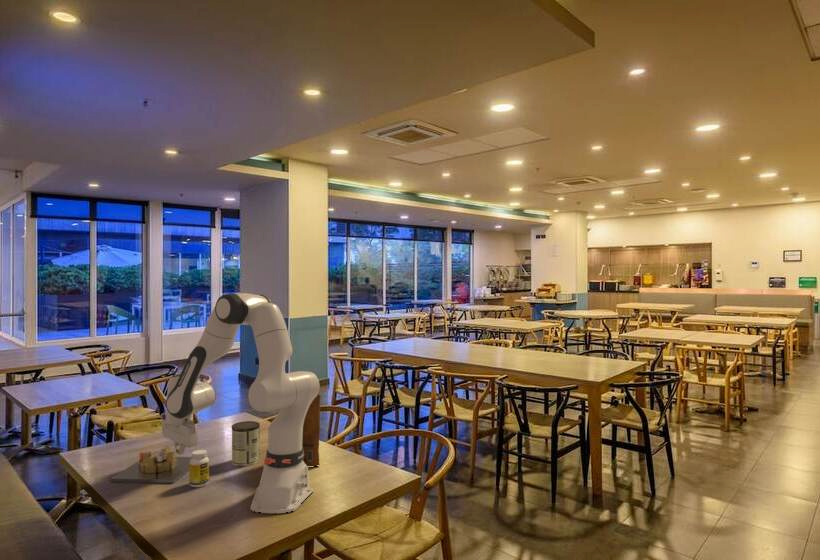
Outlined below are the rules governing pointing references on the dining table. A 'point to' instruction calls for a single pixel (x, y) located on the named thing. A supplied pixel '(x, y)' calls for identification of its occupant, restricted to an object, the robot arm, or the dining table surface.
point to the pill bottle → (199, 469)
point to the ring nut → (151, 464)
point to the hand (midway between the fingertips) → (179, 453)
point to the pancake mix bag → (312, 433)
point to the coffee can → (245, 443)
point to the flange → (137, 476)
